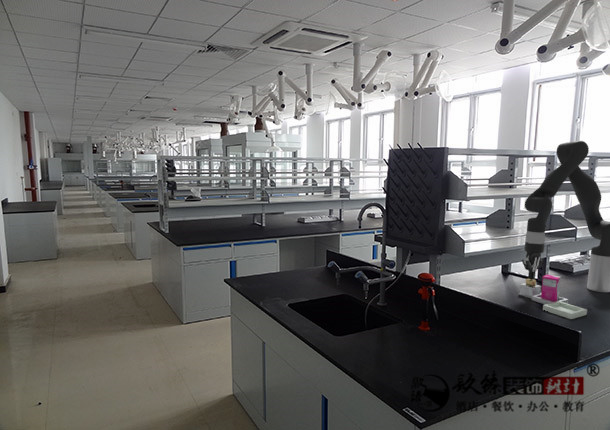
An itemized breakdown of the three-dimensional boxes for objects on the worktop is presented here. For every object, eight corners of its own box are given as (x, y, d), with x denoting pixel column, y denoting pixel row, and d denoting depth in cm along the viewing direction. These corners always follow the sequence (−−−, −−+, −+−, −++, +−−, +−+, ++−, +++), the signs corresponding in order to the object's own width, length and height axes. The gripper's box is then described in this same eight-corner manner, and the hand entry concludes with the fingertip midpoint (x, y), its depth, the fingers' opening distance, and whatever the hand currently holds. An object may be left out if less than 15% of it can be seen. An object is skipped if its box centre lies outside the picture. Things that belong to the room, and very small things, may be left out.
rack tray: (558, 305, 169) (558, 301, 169) (586, 314, 160) (587, 309, 159) (542, 309, 164) (543, 304, 164) (571, 319, 154) (571, 314, 154)
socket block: (529, 292, 187) (530, 281, 186) (568, 303, 172) (569, 292, 171) (516, 295, 182) (517, 284, 181) (554, 307, 167) (555, 295, 167)
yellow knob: (528, 292, 184) (529, 278, 183) (536, 294, 181) (538, 280, 180) (522, 293, 182) (524, 279, 182) (531, 295, 179) (532, 281, 178)
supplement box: (543, 298, 178) (546, 273, 177) (559, 302, 174) (561, 276, 172) (539, 301, 174) (542, 276, 172) (555, 305, 170) (558, 279, 168)
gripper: (535, 238, 185) (532, 275, 187) (517, 241, 179) (514, 278, 181) (552, 241, 178) (548, 279, 181) (534, 244, 172) (530, 283, 174)
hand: (531, 279), depth 181 cm, fingers closed
